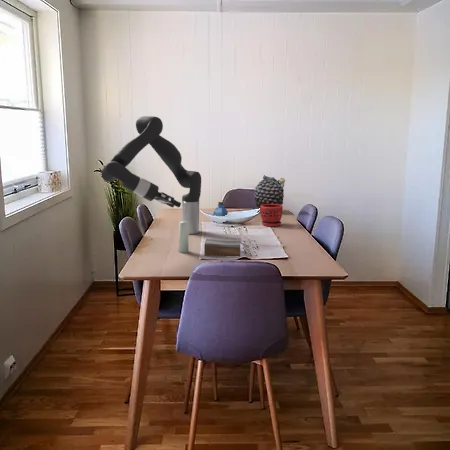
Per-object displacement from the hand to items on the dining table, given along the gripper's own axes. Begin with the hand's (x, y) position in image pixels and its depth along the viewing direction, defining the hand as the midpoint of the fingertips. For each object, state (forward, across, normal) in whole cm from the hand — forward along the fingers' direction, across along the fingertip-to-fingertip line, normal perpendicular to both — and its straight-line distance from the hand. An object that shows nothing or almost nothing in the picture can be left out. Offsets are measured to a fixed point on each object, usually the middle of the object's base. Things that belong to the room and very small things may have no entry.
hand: (176, 205), depth 214 cm
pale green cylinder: (+13, +2, +17) cm, 22 cm away
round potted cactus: (+83, +74, -36) cm, 117 cm away
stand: (+28, -6, +11) cm, 30 cm away
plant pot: (+69, +38, -21) cm, 82 cm away
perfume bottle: (+47, +56, -12) cm, 74 cm away
